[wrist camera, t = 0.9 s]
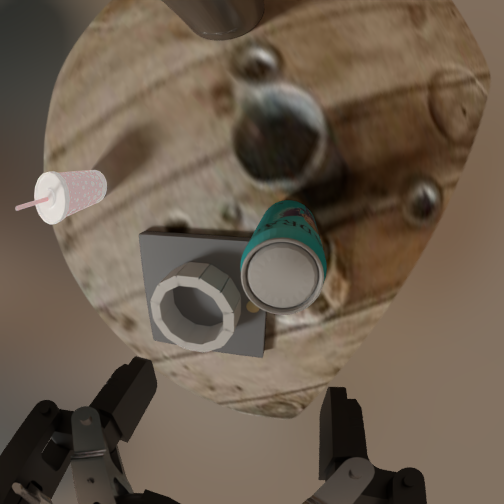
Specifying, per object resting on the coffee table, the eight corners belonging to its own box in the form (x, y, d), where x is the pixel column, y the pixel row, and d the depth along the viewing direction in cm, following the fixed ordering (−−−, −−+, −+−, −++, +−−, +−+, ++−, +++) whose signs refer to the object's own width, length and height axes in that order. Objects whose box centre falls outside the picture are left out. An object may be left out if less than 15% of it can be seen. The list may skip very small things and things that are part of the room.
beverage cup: (79, 205, 35) (5, 232, 22) (80, 163, 33) (2, 177, 20) (110, 210, 34) (34, 242, 21) (112, 165, 32) (31, 179, 19)
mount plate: (144, 231, 35) (121, 244, 29) (270, 239, 32) (264, 255, 27) (157, 334, 40) (141, 356, 35) (264, 351, 38) (258, 377, 33)
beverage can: (325, 218, 31) (347, 270, 17) (294, 257, 33) (290, 333, 19) (282, 187, 30) (270, 214, 16) (253, 228, 32) (219, 286, 18)
